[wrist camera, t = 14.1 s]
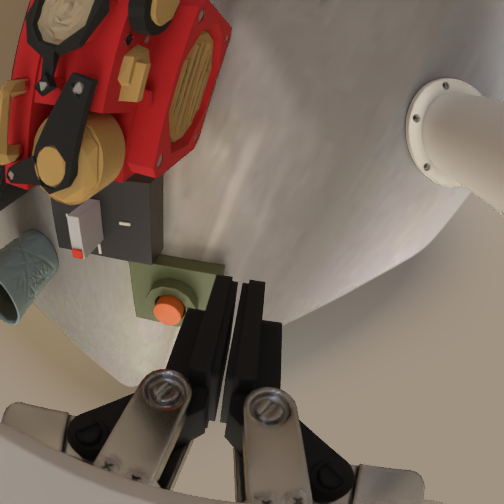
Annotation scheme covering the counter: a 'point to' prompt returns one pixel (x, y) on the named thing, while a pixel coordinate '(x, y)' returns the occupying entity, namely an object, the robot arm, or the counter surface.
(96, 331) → the counter surface
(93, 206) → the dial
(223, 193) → the counter surface
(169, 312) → the button
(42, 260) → the teal embossed cup
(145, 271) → the button block
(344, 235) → the counter surface
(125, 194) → the plate
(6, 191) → the travel mug
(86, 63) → the red coffee machine
